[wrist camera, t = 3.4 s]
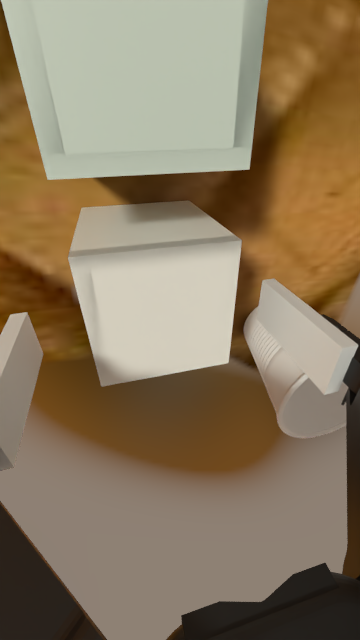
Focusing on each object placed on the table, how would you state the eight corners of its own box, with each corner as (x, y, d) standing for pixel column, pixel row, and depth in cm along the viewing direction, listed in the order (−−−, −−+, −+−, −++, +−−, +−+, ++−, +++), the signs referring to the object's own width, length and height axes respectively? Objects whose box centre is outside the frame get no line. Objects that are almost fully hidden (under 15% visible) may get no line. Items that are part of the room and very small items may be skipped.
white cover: (188, 200, 21) (241, 240, 13) (188, 291, 26) (228, 363, 18) (81, 207, 20) (67, 257, 12) (101, 303, 24) (101, 386, 16)
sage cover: (188, -14, 15) (287, -184, 7) (188, 155, 20) (249, 169, 12) (33, -26, 14) (-66, -256, 6) (71, 159, 18) (47, 179, 10)
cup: (234, 281, 26) (302, 356, 18) (322, 279, 29) (421, 343, 20) (218, 360, 32) (264, 447, 23) (293, 352, 34) (361, 429, 25)
